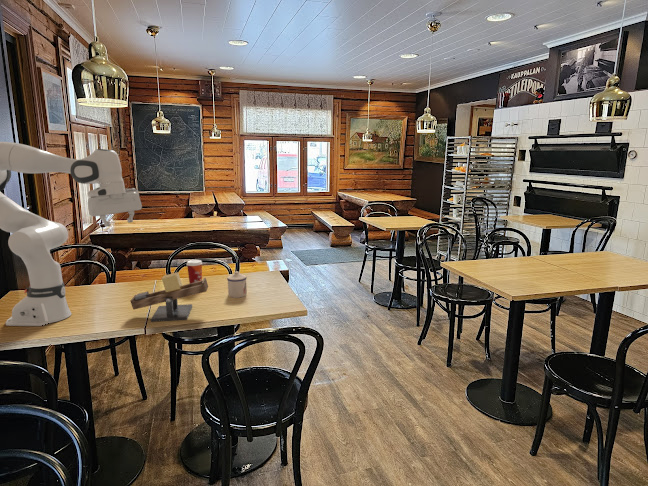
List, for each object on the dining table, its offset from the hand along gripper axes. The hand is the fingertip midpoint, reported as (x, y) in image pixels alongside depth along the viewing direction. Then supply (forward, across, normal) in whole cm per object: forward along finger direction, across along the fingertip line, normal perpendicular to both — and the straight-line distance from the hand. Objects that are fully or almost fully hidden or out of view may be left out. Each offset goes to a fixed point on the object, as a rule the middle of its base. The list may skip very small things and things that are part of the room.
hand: (119, 224), depth 170 cm
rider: (+31, -12, +14) cm, 36 cm away
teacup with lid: (+42, -44, +13) cm, 62 cm away
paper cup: (+39, -38, -10) cm, 56 cm away
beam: (+34, -11, +12) cm, 38 cm away
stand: (+40, -10, +12) cm, 43 cm away
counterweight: (+33, -2, +4) cm, 33 cm away
